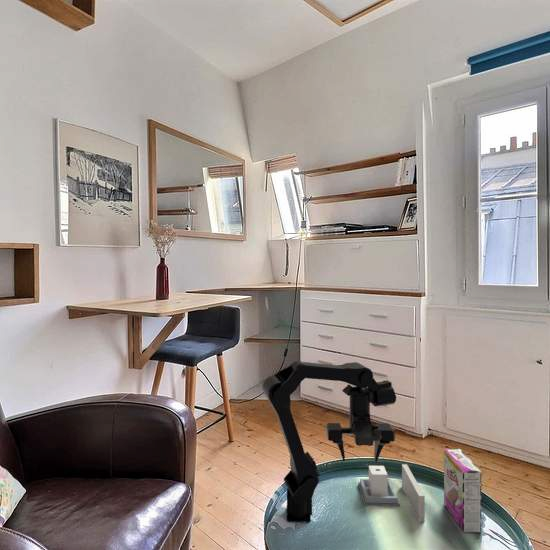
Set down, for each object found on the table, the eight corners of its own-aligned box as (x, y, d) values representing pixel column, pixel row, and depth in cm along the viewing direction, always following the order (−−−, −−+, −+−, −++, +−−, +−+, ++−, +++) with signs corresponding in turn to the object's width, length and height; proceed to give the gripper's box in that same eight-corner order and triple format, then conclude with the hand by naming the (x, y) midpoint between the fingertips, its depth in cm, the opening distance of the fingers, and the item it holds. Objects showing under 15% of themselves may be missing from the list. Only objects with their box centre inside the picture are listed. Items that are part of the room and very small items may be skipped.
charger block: (372, 497, 107) (371, 473, 107) (368, 488, 111) (368, 465, 111) (387, 497, 107) (387, 473, 106) (383, 488, 111) (383, 465, 111)
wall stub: (418, 521, 98) (418, 495, 97) (401, 486, 113) (401, 464, 112) (424, 521, 98) (424, 495, 97) (406, 486, 113) (406, 464, 112)
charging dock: (364, 505, 104) (364, 498, 104) (358, 483, 114) (358, 477, 114) (400, 505, 104) (400, 499, 104) (390, 484, 114) (390, 478, 114)
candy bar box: (442, 504, 104) (442, 448, 104) (460, 504, 104) (460, 448, 104) (462, 533, 93) (463, 471, 92) (482, 533, 93) (482, 471, 92)
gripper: (330, 419, 98) (330, 476, 98) (400, 420, 97) (400, 477, 97) (326, 403, 109) (326, 454, 109) (389, 403, 108) (389, 455, 109)
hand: (359, 460), depth 106 cm, fingers open, 9 cm apart
